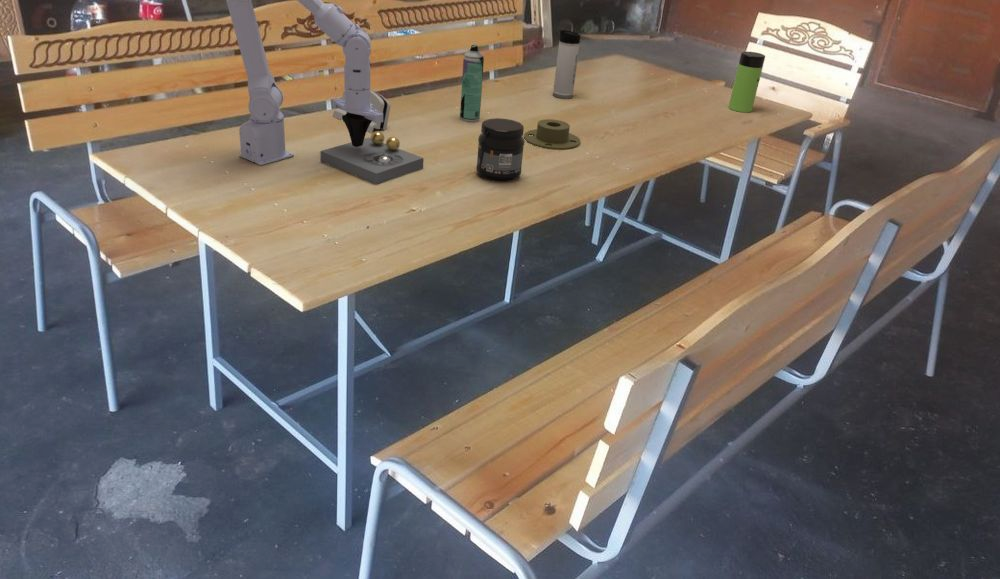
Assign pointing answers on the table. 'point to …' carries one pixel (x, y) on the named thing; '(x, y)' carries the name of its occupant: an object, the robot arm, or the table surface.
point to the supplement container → (500, 150)
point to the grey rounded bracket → (378, 104)
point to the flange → (552, 135)
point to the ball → (384, 159)
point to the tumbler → (746, 81)
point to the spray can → (471, 85)
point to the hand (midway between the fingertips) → (357, 145)
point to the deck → (371, 161)
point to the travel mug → (566, 64)
